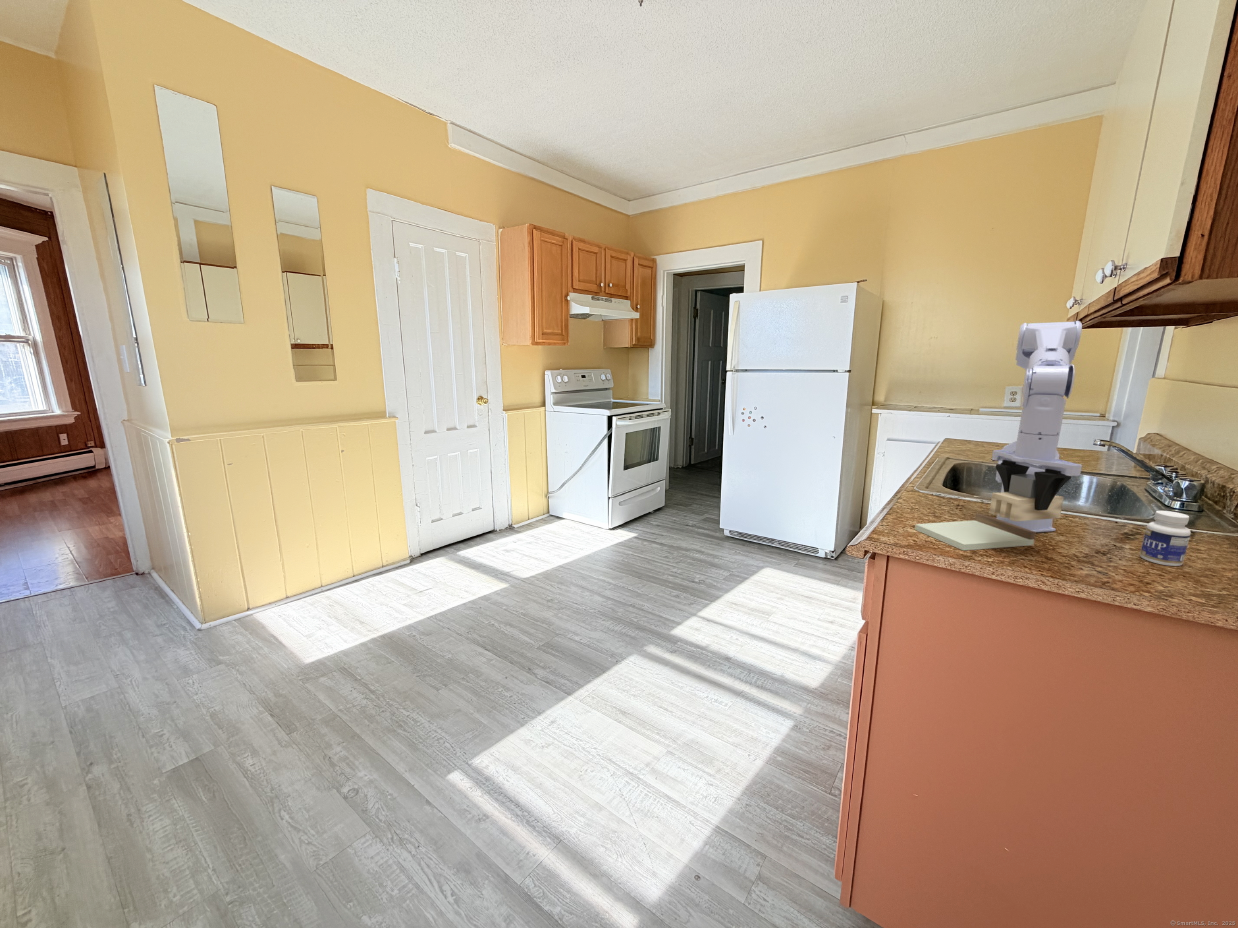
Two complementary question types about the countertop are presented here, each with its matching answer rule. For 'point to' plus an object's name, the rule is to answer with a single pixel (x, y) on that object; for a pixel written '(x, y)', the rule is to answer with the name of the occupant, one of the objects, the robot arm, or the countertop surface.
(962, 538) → the pale green flat slab
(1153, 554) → the pill bottle
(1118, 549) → the countertop surface
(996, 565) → the countertop surface
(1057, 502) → the pallet
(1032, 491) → the gray cube
